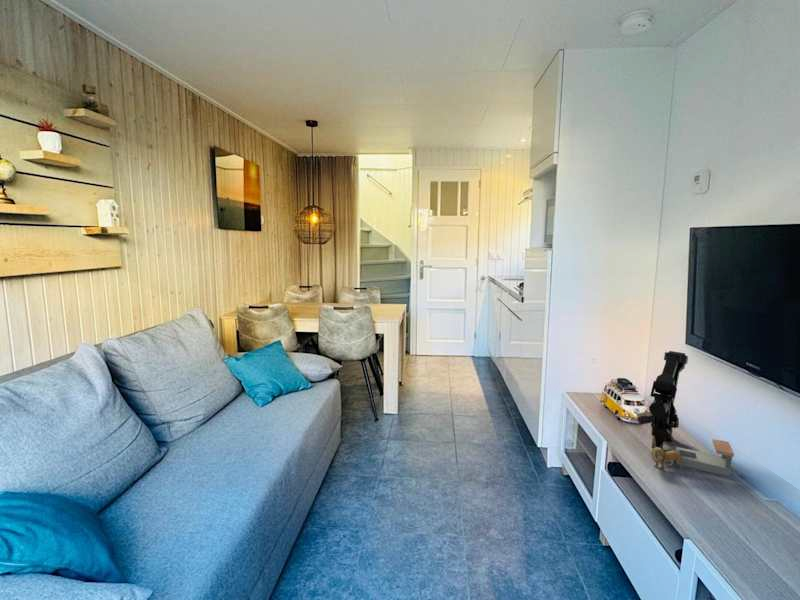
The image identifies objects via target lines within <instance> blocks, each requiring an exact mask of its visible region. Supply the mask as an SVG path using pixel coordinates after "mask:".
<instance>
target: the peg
mask: <svg viewBox="0 0 800 600" xmlns="http://www.w3.org/2000/svg"><path fill="white" fill-rule="evenodd" d="M651 442H652V443H651V450H652V449H654V448H655V447H656V440H655V436H652V439H651ZM664 442H665V441H664ZM664 442H663V444H662V445H661V446H660V448H661V449H663V450H664Z"/></svg>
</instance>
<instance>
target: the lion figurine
mask: <svg viewBox="0 0 800 600" xmlns="http://www.w3.org/2000/svg"><path fill="white" fill-rule="evenodd" d="M651 457H652V460H653V461H654V462H655V464H654V465H653V467H654V468H656V469H657V468H659V464H661V467H660V471H662V472H664V471H665V466H666V465H667V466H668V467H671V466H672V465H673V464H674V463H675V462H676V461H677V463H679V464H680V465H679V468H678V469H679V470H683V469H684V466H683V463H682V457H681V454H680V453H679V452H677V451H675V450H670V451H665V450H664V448H663V449H661V448H659V447H655V448H654V449H652V448H651ZM675 460H676V461H675ZM667 462H670V463H667ZM666 463H667V464H666Z"/></svg>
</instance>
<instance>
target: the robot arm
mask: <svg viewBox="0 0 800 600" xmlns="http://www.w3.org/2000/svg"><path fill="white" fill-rule="evenodd" d="M663 361H665V364H664V366H663V370H662V372H661V374H659V375H657V377H656V378H655V380H653V382H652V388H651V392H650V395H649V396H650V397H652V398H654V400H653V401H652V402H651V404H650V405H649V407H648V410H649V412H638V413H636V418H637V421H638V424H639V425H643V424H650V427H651V432H650V433H651V436H652V437H653V436H655V440H656V447H659V448H660V446H661V445H662V444H663V445H664V443H663V442H666V441H669V442H673V441H674V438H673V428H674V429H678V428H679V425H680V424H679V423H680V420H679V417H678V414H677V409H676V407H675V400H676V395H677V392H678V384H679V383H678V381H679V378H680V373H681V372H682V371H683V370H684V369H685V367H686V365H687V364H688V361H689V356H688V355H686V353H685V352H679V351H672V350H669V351H668V352H667V351H665V352H664V356H663Z"/></svg>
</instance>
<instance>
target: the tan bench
mask: <svg viewBox="0 0 800 600" xmlns="http://www.w3.org/2000/svg"><path fill="white" fill-rule="evenodd" d="M712 444H713V447H714V449H715V452H716V454H718V455H720V456H721V457H722V458H723V459H726V463H725V467H726V468H731V467H732V460H733V458H734V457H735V453H734V451H733V448H732V446H731V445H730V444H731V443H729V441H725V440H721V439H715V438H712ZM731 469H732V468H731Z"/></svg>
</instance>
